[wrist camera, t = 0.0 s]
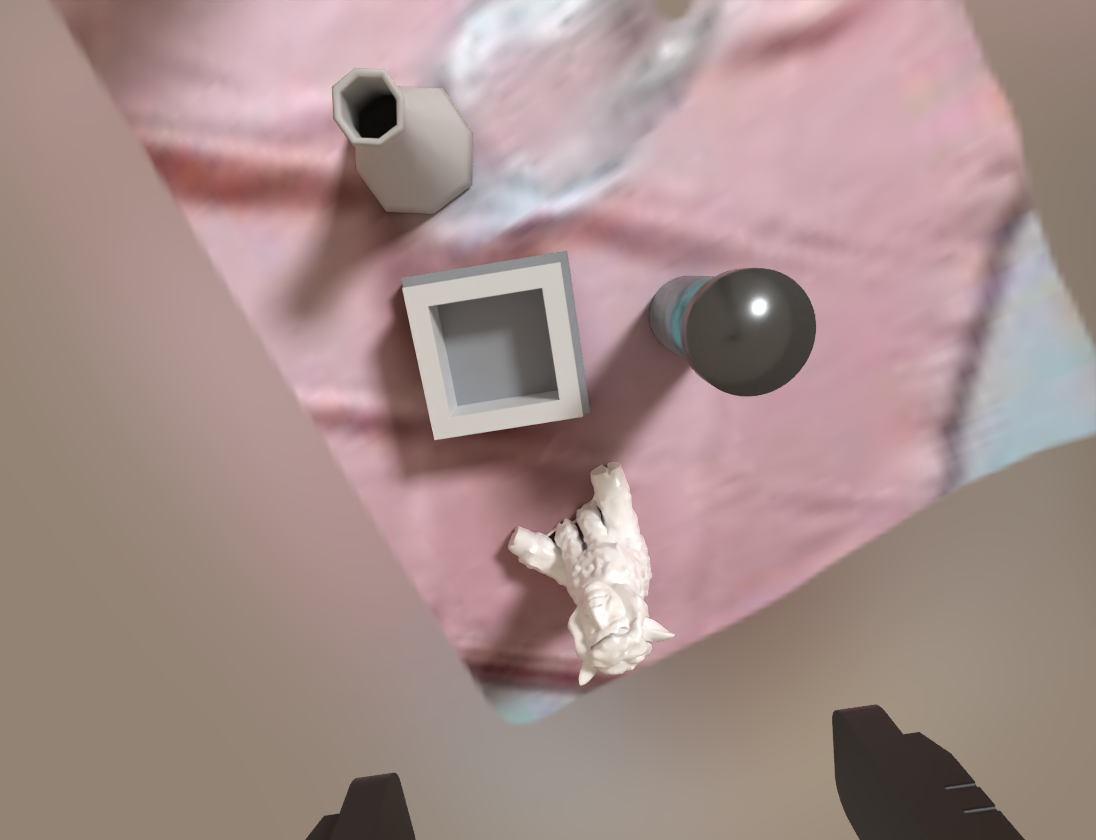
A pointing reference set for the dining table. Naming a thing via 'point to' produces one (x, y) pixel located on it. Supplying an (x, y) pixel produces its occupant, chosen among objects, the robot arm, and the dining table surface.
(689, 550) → the dining table surface
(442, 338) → the dock
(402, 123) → the flask
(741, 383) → the teal capped jar
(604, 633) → the seated beast figurine
